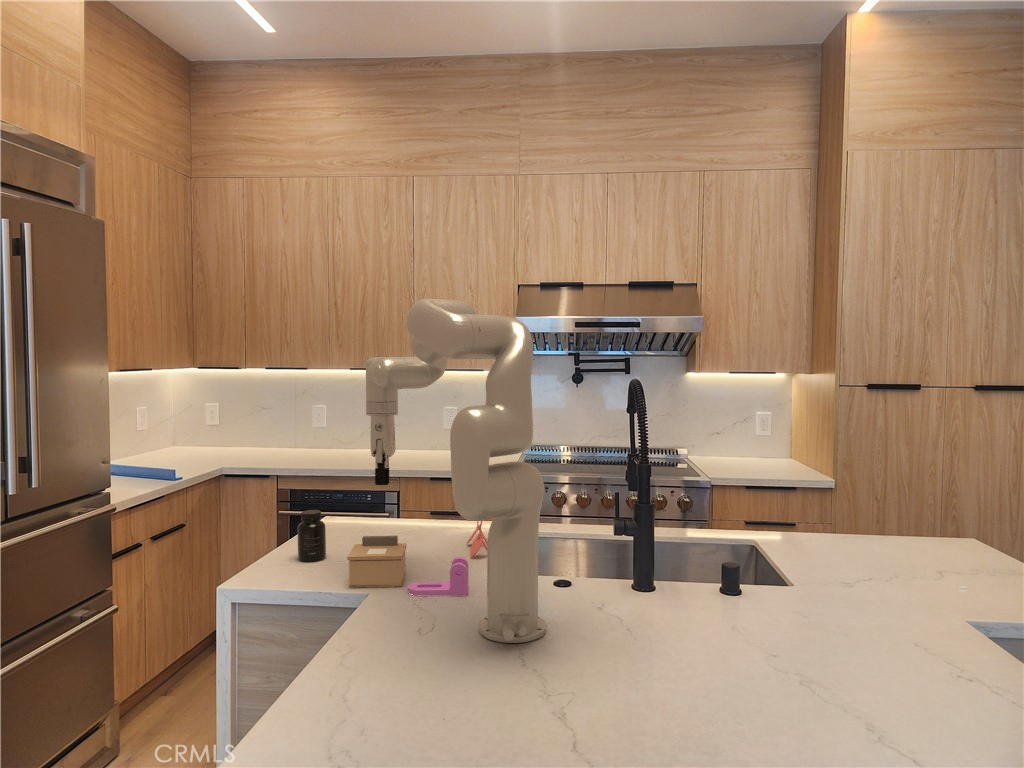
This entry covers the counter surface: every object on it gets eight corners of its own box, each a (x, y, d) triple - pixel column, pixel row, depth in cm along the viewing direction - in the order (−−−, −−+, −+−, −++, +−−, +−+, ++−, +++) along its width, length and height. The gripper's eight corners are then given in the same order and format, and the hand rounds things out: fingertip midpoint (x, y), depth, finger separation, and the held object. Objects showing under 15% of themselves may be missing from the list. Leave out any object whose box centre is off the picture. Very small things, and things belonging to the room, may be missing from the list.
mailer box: (401, 586, 152) (401, 560, 152) (349, 588, 152) (349, 561, 151) (405, 573, 162) (405, 548, 162) (356, 574, 161) (356, 549, 161)
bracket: (468, 587, 153) (468, 556, 152) (467, 596, 147) (467, 564, 147) (409, 588, 152) (409, 557, 152) (406, 597, 147) (406, 564, 146)
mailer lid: (402, 559, 152) (402, 546, 152) (347, 560, 151) (347, 547, 151) (406, 546, 162) (406, 534, 162) (355, 547, 161) (354, 535, 161)
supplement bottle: (297, 556, 176) (297, 509, 175) (325, 553, 178) (324, 507, 177) (297, 563, 169) (297, 515, 169) (326, 561, 171) (326, 513, 171)
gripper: (394, 411, 157) (394, 490, 158) (400, 406, 172) (401, 478, 173) (361, 411, 157) (361, 491, 158) (370, 406, 172) (371, 478, 173)
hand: (382, 484), depth 166 cm, fingers closed
